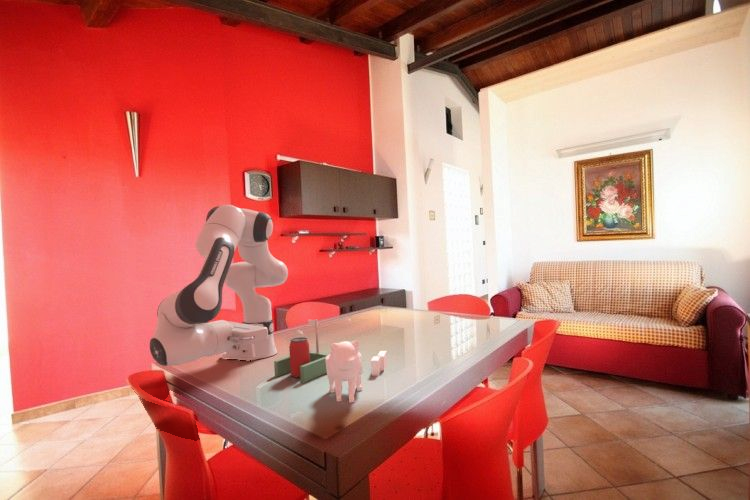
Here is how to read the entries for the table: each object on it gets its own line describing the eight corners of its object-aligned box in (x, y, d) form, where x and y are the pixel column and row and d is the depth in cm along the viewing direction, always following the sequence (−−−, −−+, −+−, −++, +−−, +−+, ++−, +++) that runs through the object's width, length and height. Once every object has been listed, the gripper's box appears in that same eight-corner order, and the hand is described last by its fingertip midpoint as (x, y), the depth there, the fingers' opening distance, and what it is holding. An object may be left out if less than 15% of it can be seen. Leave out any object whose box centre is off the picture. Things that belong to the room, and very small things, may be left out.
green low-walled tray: (304, 382, 113) (301, 328, 113) (274, 375, 121) (272, 325, 121) (334, 369, 125) (332, 320, 125) (306, 364, 133) (304, 318, 133)
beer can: (306, 378, 117) (305, 341, 117) (287, 378, 118) (286, 341, 118) (312, 371, 124) (311, 336, 124) (294, 371, 124) (293, 337, 125)
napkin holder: (383, 362, 131) (382, 347, 131) (405, 369, 123) (404, 352, 123) (350, 373, 121) (349, 356, 121) (372, 381, 113) (371, 363, 113)
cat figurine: (325, 381, 113) (323, 328, 114) (358, 377, 115) (356, 326, 115) (328, 415, 89) (325, 348, 89) (370, 410, 90) (366, 344, 91)
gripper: (240, 329, 92) (283, 319, 103) (198, 322, 103) (240, 313, 115) (241, 353, 92) (283, 340, 103) (199, 343, 103) (240, 333, 115)
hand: (260, 326), depth 109 cm, fingers closed
